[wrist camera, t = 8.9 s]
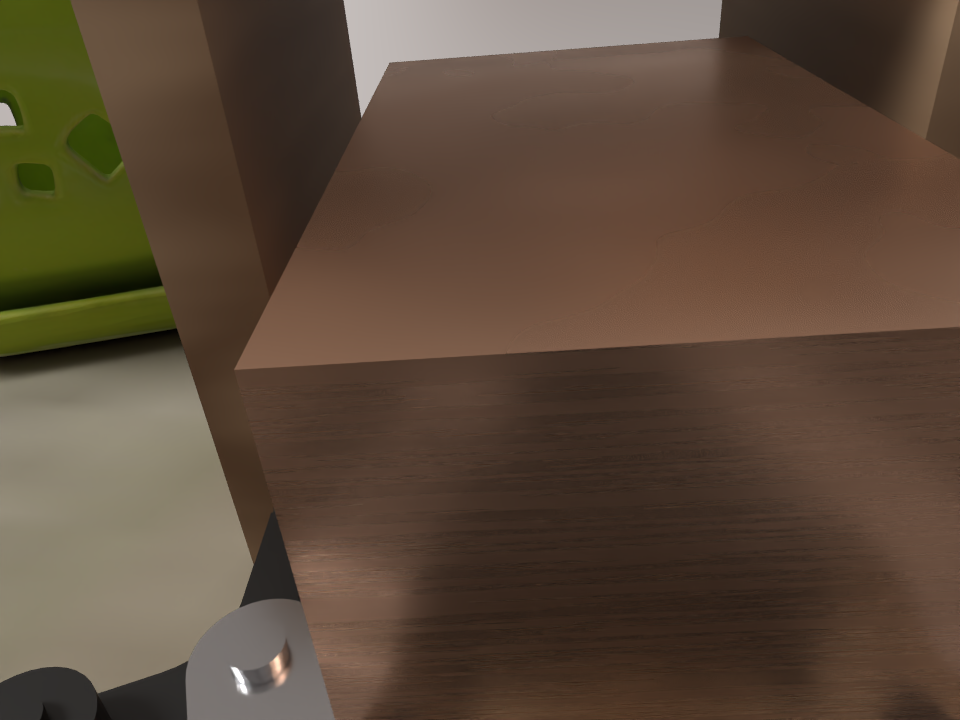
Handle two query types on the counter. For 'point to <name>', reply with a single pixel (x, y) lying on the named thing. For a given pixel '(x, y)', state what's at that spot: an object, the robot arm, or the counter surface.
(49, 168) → the flower pot
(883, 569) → the tall wood-grain block
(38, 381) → the counter surface
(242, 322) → the tunnel
